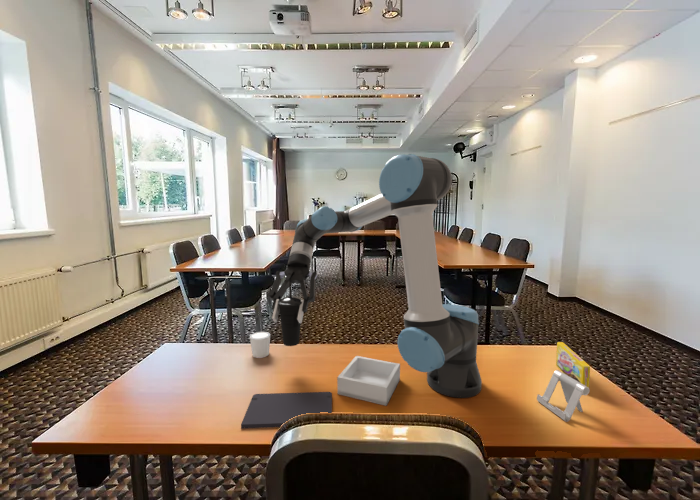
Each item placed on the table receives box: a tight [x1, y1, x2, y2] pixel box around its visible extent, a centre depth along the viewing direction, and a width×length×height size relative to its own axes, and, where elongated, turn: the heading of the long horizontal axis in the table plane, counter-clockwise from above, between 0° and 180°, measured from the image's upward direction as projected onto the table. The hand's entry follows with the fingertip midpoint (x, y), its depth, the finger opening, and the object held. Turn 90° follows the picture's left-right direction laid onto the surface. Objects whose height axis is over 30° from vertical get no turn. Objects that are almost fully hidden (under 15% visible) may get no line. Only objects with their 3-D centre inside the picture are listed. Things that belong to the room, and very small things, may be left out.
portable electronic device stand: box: [536, 369, 590, 423], centre depth 85 cm, size 9×8×8 cm
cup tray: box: [336, 355, 401, 407], centre depth 96 cm, size 14×14×5 cm
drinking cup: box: [278, 280, 303, 347], centre depth 104 cm, size 8×8×20 cm
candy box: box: [555, 341, 591, 395], centre depth 100 cm, size 16×2×8 cm, turn 171°
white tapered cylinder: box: [249, 331, 271, 359], centre depth 116 cm, size 7×7×7 cm
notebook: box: [240, 391, 333, 430], centre depth 85 cm, size 13×2×21 cm
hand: (286, 320), depth 100 cm, fingers closed on drinking cup, 7 cm apart
